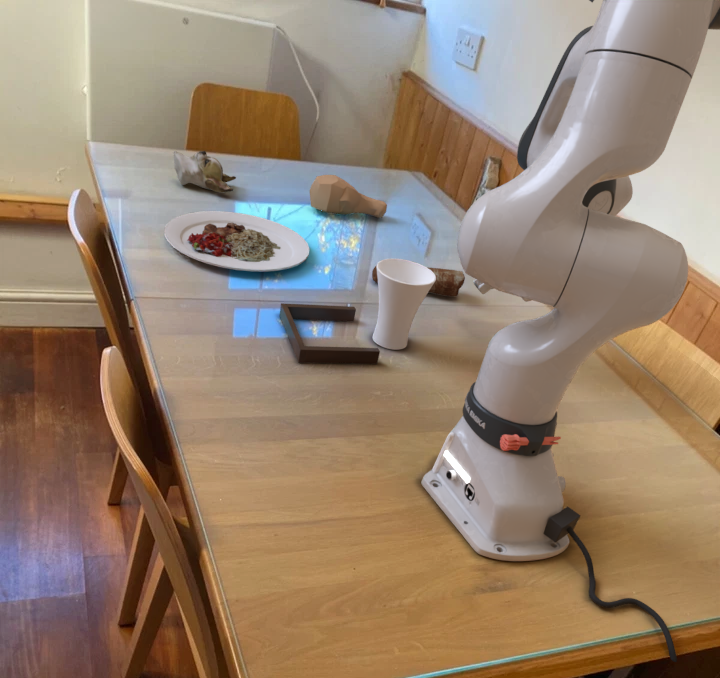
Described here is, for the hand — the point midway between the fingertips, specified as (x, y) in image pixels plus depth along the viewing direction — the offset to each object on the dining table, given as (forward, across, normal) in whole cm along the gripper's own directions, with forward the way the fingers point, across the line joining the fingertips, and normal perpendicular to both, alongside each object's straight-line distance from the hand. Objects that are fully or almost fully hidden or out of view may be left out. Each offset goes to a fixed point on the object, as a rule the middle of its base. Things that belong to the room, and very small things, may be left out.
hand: (477, 288), depth 126 cm
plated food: (+34, +38, +18) cm, 54 cm away
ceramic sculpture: (+36, +73, +20) cm, 84 cm away
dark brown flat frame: (+26, 0, +10) cm, 28 cm away
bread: (+9, +22, -7) cm, 25 cm away
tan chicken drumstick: (+12, +64, -4) cm, 65 cm away
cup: (+18, 0, +2) cm, 18 cm away
